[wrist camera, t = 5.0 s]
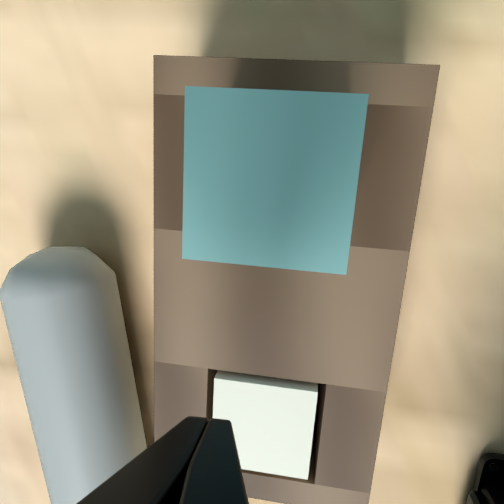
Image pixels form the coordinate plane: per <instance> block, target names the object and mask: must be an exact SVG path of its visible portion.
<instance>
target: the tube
mask: <svg viewBox="0 0 504 504" xmlns="http://www.w3.org/2000/svg"><path fill="white" fill-rule="evenodd" d="M0 300H1V304H2V308H3V312H4V317H5V321H6V325H7V329H8V333H9V337H10V341H11V345H12V349H13V353H14V357H15V361H16V365H17V369H18V373H19V377H20V381H21V385H22V389H23V393H24V397H25V401H26V405H27V409H28V413H29V417H30V421H31V425H32V429H33V433H34V437H35V441H36V445H37V449H38V453H39V457H40V461H41V465H42V469H43V473H44V477H45V481H46V485H47V489H48V493H49V497H50V501H51V504H76V503H78V502H79V501H80V500H82V499H83V498H84V497H85V496H87V495H88V494H89V493H90V492H92V491H93V490H94V489H95V488H97V487H98V486H99V485H101V484H102V483H103V482H104V481H106V480H107V479H108V478H109V477H111V476H112V475H113V474H115V473H116V472H117V471H118V470H120V469H121V468H122V467H123V466H125V465H126V464H127V463H129V462H130V461H131V460H132V459H134V458H135V457H136V456H137V455H139V454H140V453H141V452H142V451H144V450H145V449H146V448H147V445H146V440H145V434H144V429H143V423H142V418H141V412H140V406H139V401H138V395H137V390H136V384H135V379H134V373H133V368H132V362H131V357H130V351H129V346H128V340H127V334H126V329H125V323H124V318H123V312H122V307H121V301H120V296H119V290H118V285H117V279H116V273H115V272H114V271H113V270H112V269H111V268H110V267H109V266H108V265H107V264H105V263H104V262H103V261H102V260H101V259H100V258H99V257H98V256H97V255H95V254H94V253H93V252H91V251H90V250H89V249H87V248H86V247H49V248H46V249H44V250H41V251H38V252H36V253H33V254H30V255H28V256H27V257H26V258H24V259H23V260H22V261H20V262H19V263H18V264H17V265H15V266H14V267H13V268H11V269H10V270H9V272H8V274H7V276H6V278H5V280H4V282H3V284H2V286H1V288H0Z"/></svg>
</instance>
